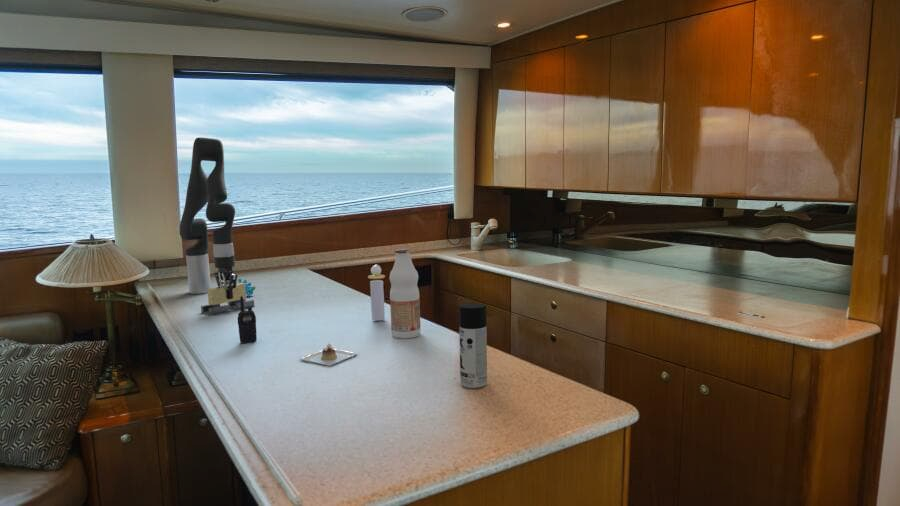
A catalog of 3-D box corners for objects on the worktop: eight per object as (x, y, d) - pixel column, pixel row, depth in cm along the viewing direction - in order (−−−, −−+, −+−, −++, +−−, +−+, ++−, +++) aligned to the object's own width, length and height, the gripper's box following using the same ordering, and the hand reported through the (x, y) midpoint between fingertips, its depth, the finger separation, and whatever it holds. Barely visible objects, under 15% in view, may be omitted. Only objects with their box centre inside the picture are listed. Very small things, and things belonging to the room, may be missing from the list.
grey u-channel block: (201, 312, 231) (200, 306, 231) (243, 303, 245) (243, 297, 244) (211, 315, 226) (211, 309, 226) (254, 306, 239) (254, 300, 239)
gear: (232, 296, 251) (228, 277, 256) (228, 304, 255) (225, 286, 260) (258, 296, 258) (254, 278, 263) (254, 304, 261) (250, 286, 267)
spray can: (459, 380, 151) (457, 302, 148) (485, 378, 152) (484, 301, 149) (461, 390, 144) (459, 309, 142) (489, 388, 145) (488, 307, 142)
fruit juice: (397, 340, 187) (394, 252, 183) (387, 333, 195) (383, 248, 191) (425, 336, 191) (422, 249, 187) (414, 329, 199) (411, 246, 195)
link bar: (208, 304, 231) (207, 288, 230) (242, 297, 241) (240, 282, 240) (212, 305, 229) (211, 289, 228) (246, 298, 239) (245, 283, 238)
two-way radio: (240, 344, 187) (236, 297, 185) (238, 341, 191) (234, 295, 189) (258, 341, 190) (254, 295, 188) (255, 338, 194) (252, 293, 192)
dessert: (330, 369, 164) (329, 352, 163) (298, 362, 170) (297, 346, 169) (358, 356, 174) (358, 340, 173) (328, 351, 180) (327, 335, 179)
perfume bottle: (381, 323, 208) (378, 266, 205) (367, 322, 211) (364, 266, 208) (389, 319, 213) (387, 264, 210) (375, 318, 216) (373, 263, 213)
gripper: (205, 254, 234) (209, 297, 237) (224, 257, 225) (227, 302, 227) (223, 252, 240) (227, 294, 242) (242, 255, 230) (245, 298, 233)
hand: (227, 298), depth 235 cm, fingers closed on link bar, 3 cm apart
